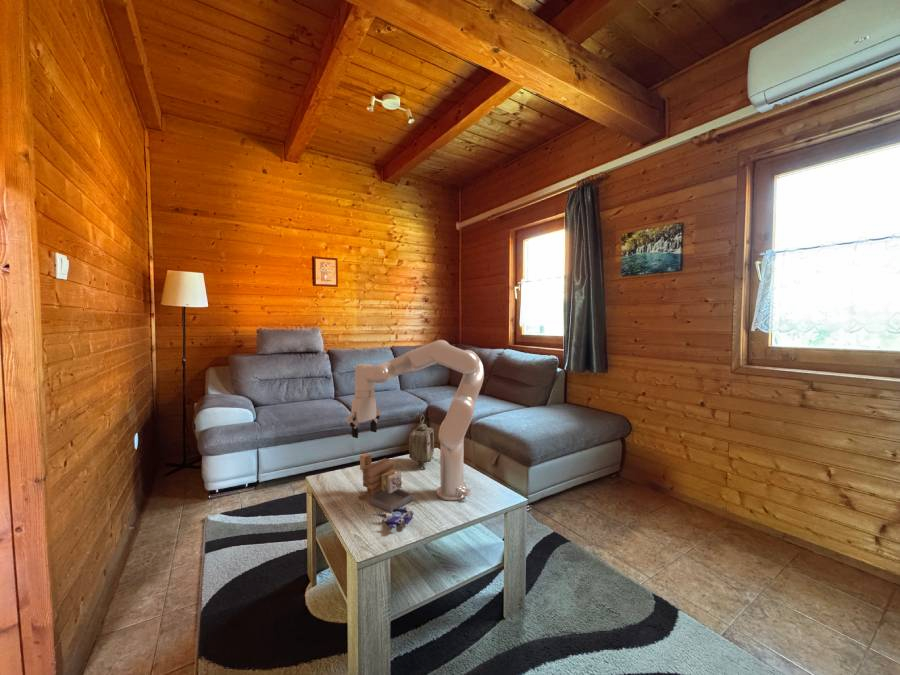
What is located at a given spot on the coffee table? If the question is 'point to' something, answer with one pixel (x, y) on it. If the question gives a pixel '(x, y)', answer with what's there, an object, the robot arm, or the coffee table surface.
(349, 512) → the coffee table surface
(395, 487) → the square wooden ring
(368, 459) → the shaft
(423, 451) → the old lantern
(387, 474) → the bar
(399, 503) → the tray
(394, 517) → the toy airplane
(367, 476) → the bearing block
